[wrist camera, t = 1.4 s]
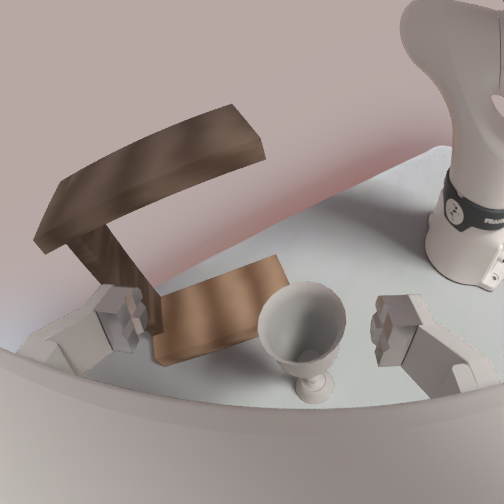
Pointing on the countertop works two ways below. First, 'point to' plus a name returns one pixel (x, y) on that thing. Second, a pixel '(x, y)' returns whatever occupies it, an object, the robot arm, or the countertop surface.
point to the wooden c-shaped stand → (151, 190)
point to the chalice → (304, 335)
